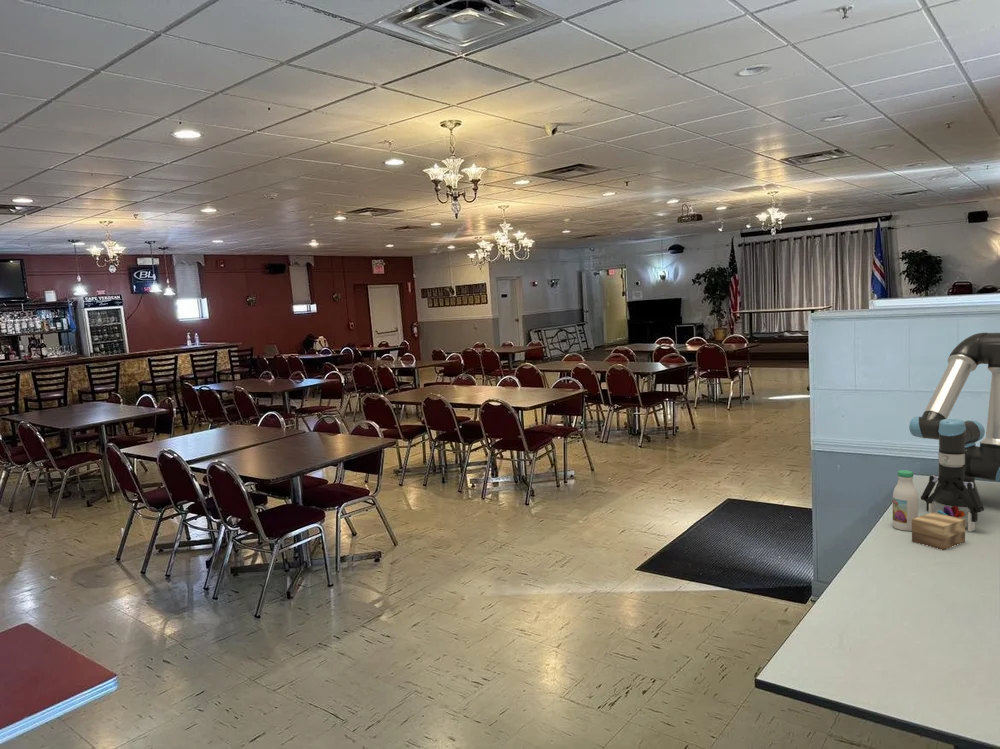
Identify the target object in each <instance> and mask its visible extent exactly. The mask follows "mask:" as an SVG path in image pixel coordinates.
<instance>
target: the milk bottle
mask: <svg viewBox="0 0 1000 749" xmlns="http://www.w3.org/2000/svg"><path fill="white" fill-rule="evenodd" d="M897 478H898V480H897V484H896V485H895V487H894V489H893V493H892V527H893V528H894V529H896V530H900V531H905V532H912V519H914V518H917V517H919V493H918V491H917V488H916V487H915V484H914V481H913V479H914V472H913V471H911V470H907V469H900V470H898V471H897Z"/></svg>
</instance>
